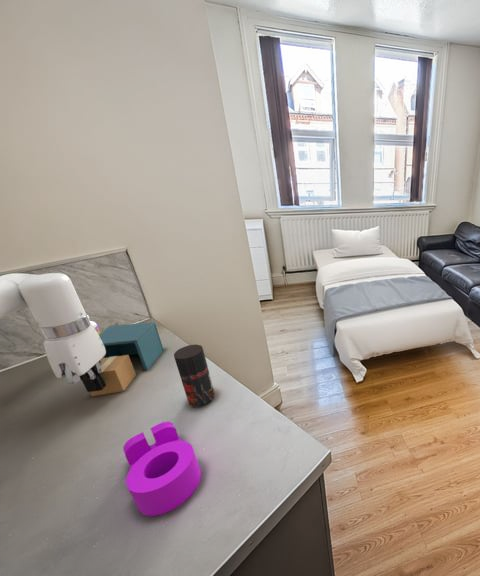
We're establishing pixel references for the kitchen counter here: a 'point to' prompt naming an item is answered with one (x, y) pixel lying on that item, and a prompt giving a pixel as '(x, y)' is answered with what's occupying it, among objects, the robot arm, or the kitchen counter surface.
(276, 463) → the kitchen counter surface
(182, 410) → the kitchen counter surface
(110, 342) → the shelf
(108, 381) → the box
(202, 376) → the deodorant
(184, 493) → the magenta ring bracket
